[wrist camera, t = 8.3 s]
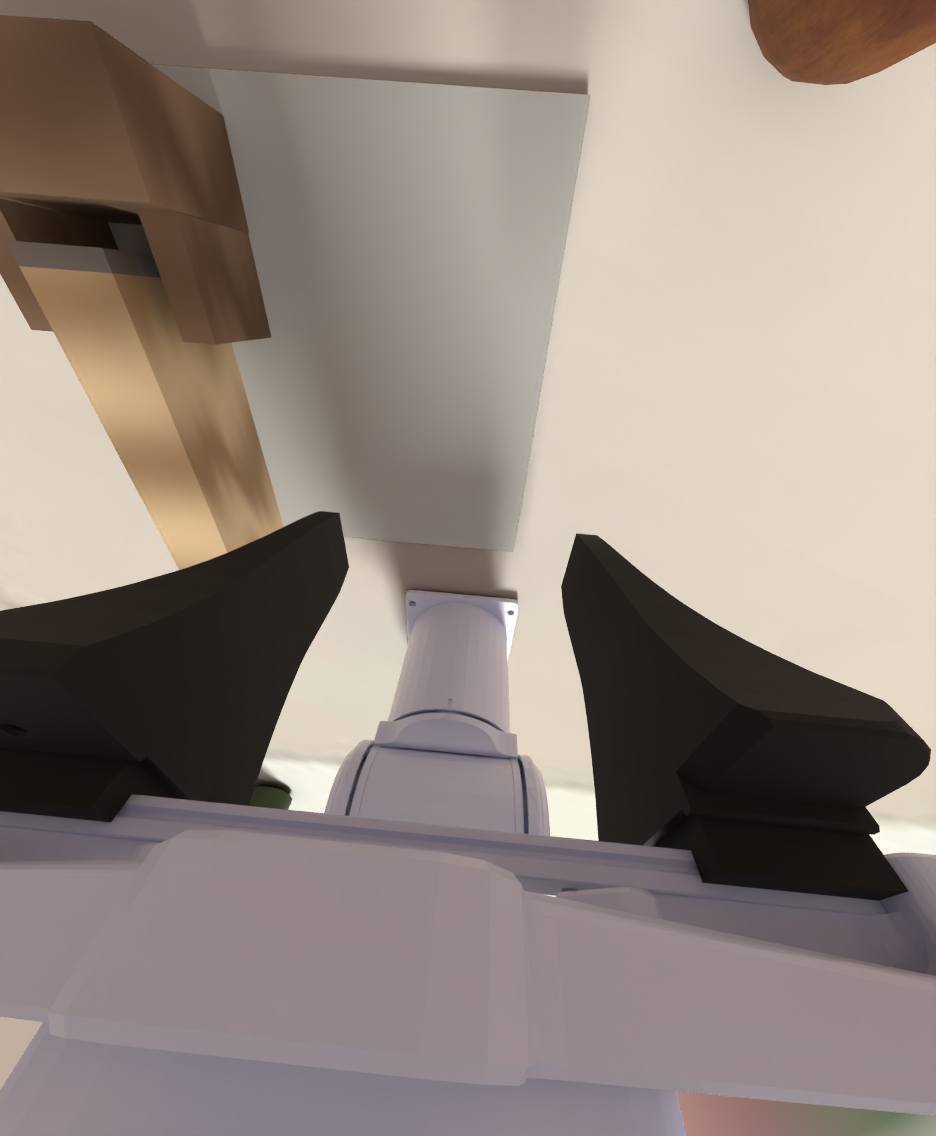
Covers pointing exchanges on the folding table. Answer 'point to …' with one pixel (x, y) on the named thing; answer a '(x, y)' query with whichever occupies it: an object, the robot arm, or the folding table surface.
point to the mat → (397, 291)
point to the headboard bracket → (121, 173)
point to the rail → (158, 397)
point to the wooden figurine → (840, 36)
